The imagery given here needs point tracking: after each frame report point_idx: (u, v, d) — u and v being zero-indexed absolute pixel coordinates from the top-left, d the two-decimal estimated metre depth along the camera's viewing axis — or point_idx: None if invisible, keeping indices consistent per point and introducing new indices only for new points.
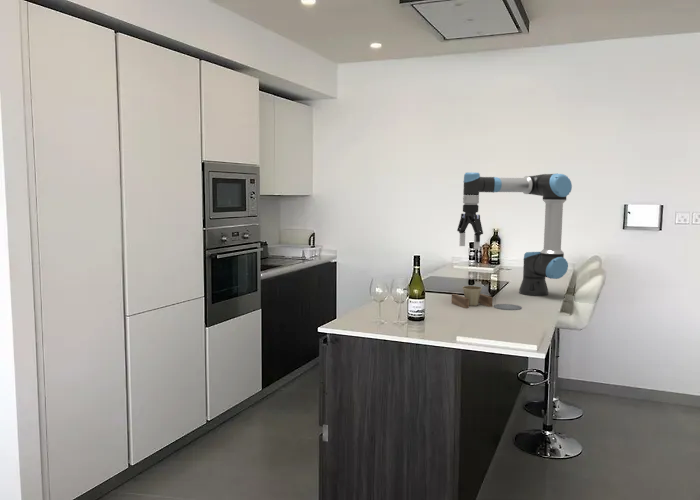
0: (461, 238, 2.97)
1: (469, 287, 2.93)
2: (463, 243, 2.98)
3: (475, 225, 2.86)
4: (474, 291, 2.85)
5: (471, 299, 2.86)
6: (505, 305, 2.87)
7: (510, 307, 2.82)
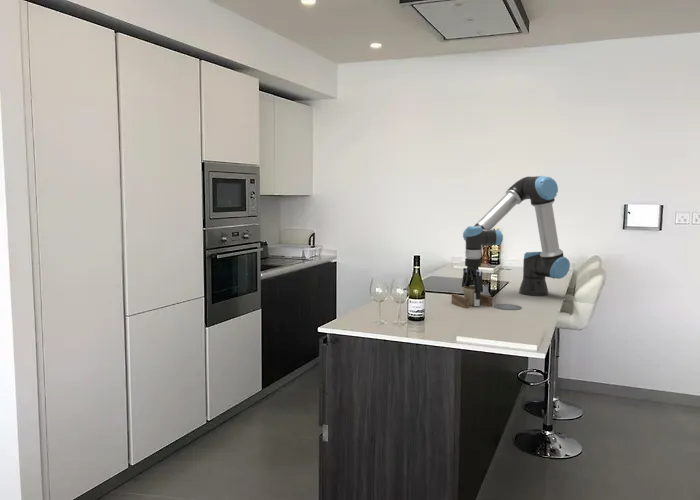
0: None
1: (469, 287, 2.93)
2: None
3: (476, 281, 2.85)
4: (474, 291, 2.85)
5: (471, 299, 2.86)
6: (505, 305, 2.87)
7: (510, 307, 2.82)
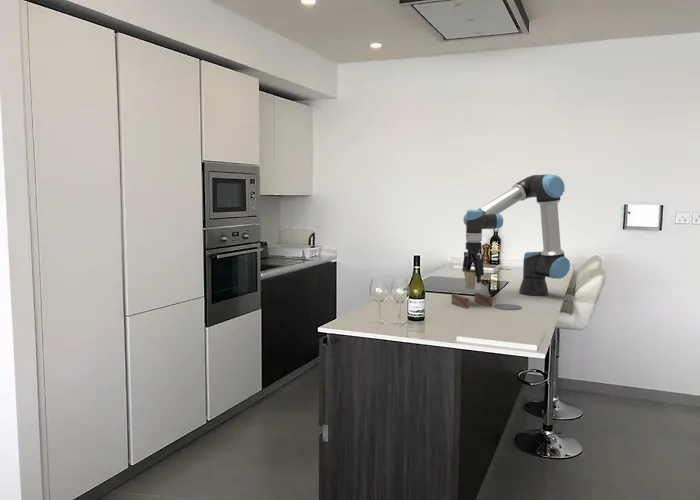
0: None
1: (470, 271, 2.92)
2: None
3: None
4: (475, 274, 2.84)
5: (472, 282, 2.85)
6: (505, 305, 2.87)
7: (510, 307, 2.82)
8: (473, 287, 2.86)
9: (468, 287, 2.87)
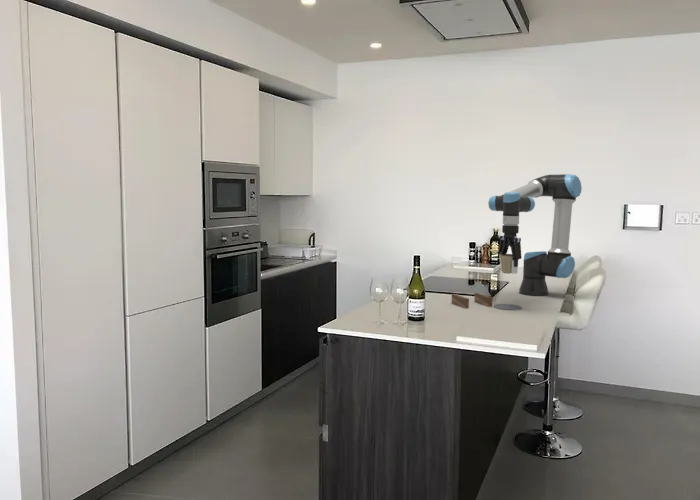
0: None
1: (506, 255, 2.86)
2: None
3: (514, 248, 2.78)
4: (512, 258, 2.78)
5: (509, 266, 2.79)
6: (505, 305, 2.87)
7: (510, 307, 2.82)
8: (510, 271, 2.80)
9: (504, 271, 2.81)
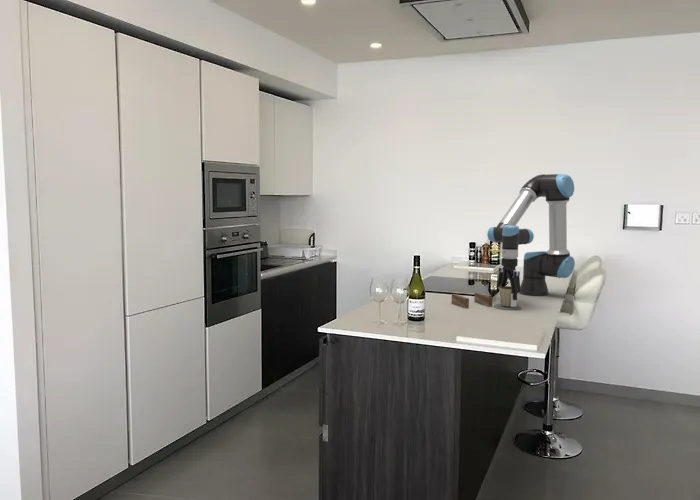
0: None
1: (505, 287, 2.88)
2: None
3: (513, 282, 2.79)
4: (511, 291, 2.79)
5: (508, 299, 2.81)
6: None
7: (510, 307, 2.82)
8: (509, 304, 2.81)
9: (504, 304, 2.82)
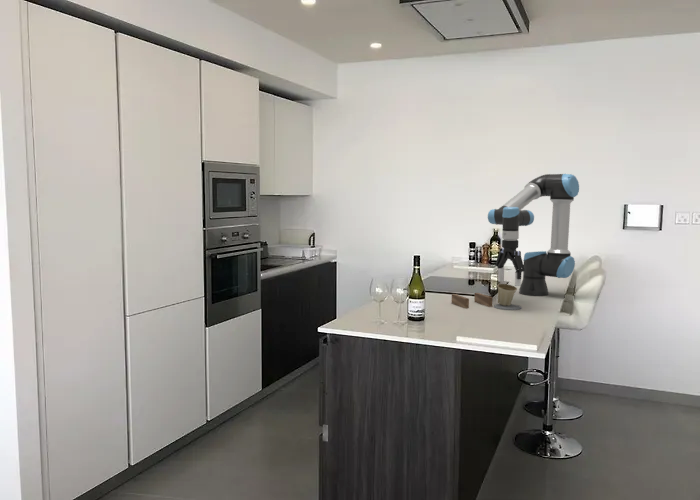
0: (500, 273, 2.89)
1: (503, 285, 2.90)
2: (502, 278, 2.90)
3: (516, 262, 2.77)
4: (509, 292, 2.82)
5: (505, 299, 2.84)
6: None
7: (510, 307, 2.82)
8: (505, 303, 2.85)
9: (500, 303, 2.86)
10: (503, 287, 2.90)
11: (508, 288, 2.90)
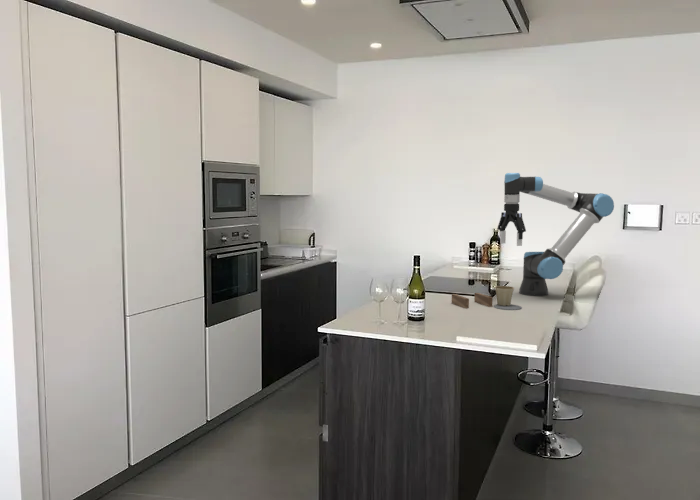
0: (502, 236, 3.10)
1: (500, 287, 2.92)
2: (504, 240, 3.11)
3: (517, 223, 2.99)
4: (507, 291, 2.83)
5: (504, 298, 2.85)
6: None
7: (510, 307, 2.82)
8: (505, 303, 2.85)
9: (500, 303, 2.86)
10: (501, 289, 2.92)
11: None
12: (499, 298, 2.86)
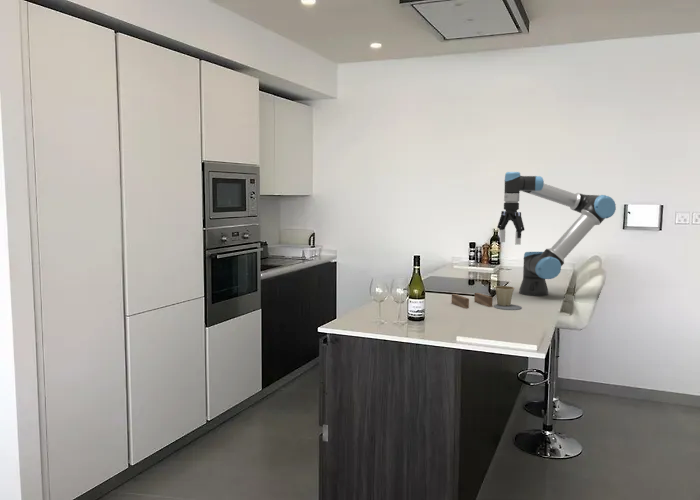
0: (501, 235, 3.11)
1: (500, 287, 2.92)
2: (504, 239, 3.12)
3: (516, 222, 3.00)
4: (507, 291, 2.83)
5: (504, 299, 2.85)
6: None
7: (510, 307, 2.82)
8: (505, 303, 2.85)
9: (500, 303, 2.86)
10: (501, 289, 2.92)
11: None
12: (499, 298, 2.86)
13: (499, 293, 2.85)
